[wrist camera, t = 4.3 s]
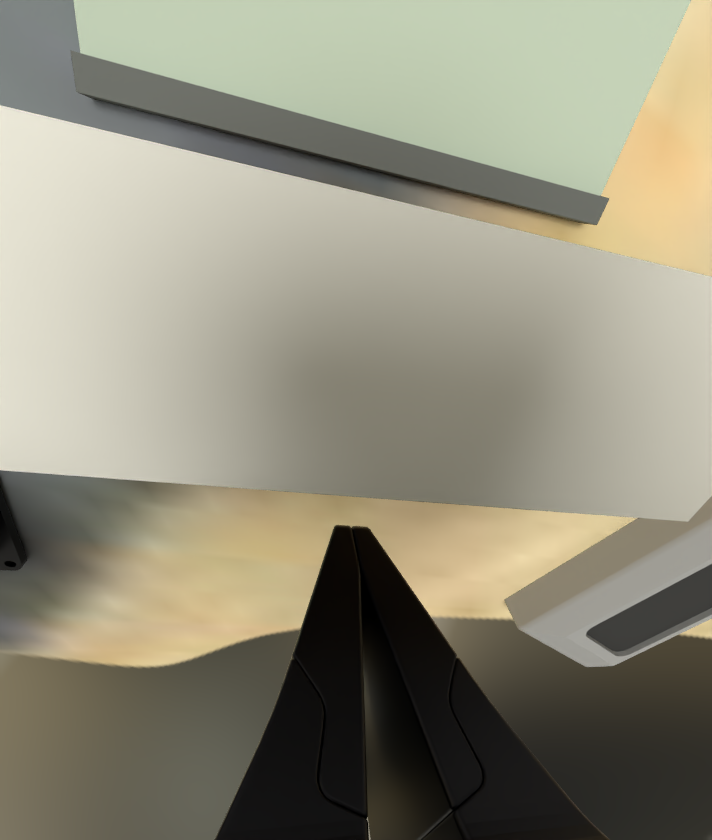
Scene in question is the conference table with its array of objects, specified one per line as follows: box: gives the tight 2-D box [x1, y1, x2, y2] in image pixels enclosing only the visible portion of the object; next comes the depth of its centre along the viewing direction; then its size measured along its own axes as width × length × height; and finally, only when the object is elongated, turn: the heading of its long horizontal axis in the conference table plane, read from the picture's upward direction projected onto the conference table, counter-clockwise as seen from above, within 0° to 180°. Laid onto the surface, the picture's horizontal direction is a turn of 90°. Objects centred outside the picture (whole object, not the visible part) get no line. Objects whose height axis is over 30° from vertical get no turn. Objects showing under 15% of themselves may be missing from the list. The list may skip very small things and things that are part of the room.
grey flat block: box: [504, 496, 712, 667], centre depth 25 cm, size 10×4×15 cm
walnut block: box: [0, 105, 712, 522], centre depth 9 cm, size 4×12×10 cm, turn 79°
